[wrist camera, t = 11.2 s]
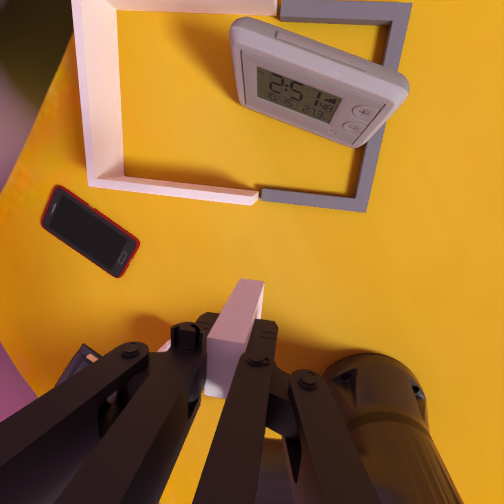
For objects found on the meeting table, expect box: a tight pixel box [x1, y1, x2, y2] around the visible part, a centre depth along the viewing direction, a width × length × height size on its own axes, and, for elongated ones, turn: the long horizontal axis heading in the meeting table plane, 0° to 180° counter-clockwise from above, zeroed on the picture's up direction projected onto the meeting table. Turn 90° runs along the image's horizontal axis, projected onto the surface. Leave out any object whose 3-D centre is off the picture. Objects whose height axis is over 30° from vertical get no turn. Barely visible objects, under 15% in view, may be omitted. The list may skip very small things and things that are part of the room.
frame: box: [261, 0, 412, 213], centre depth 33 cm, size 13×21×1 cm, turn 175°
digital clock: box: [229, 17, 410, 148], centre depth 28 cm, size 16×9×11 cm, turn 59°
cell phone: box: [41, 186, 140, 278], centre depth 43 cm, size 8×15×1 cm, turn 55°
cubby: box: [71, 0, 278, 206], centre depth 32 cm, size 20×21×6 cm
